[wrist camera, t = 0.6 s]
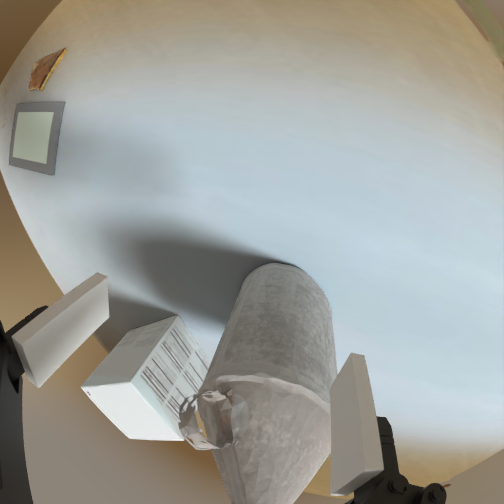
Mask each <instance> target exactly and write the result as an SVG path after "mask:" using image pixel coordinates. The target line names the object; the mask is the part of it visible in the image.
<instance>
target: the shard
mask: <svg viewBox="0 0 504 504" xmlns="http://www.w3.org/2000/svg"><path fill="white" fill-rule="evenodd" d="M66 51H67V49H66V48H64V49H61V50H59V51H58V52H56V53H53V54H50V55H48V56H46V57H44V58H42V59H41V60H39V61H38V62H36V63H35V65H34V67H33V70H32V73H31V79H30V85H29V91H30V90H33V89H39V90H40V91H42V90H43V89H44V87H45V84H46V82H47V80H48V79H49V77H50V76H51V74H52V73H53V71H54V70H55V68H56V67H57V66H58V64H59V63H60V61H61V60H62V58H63V56H64V55H65V53H66Z"/></svg>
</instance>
